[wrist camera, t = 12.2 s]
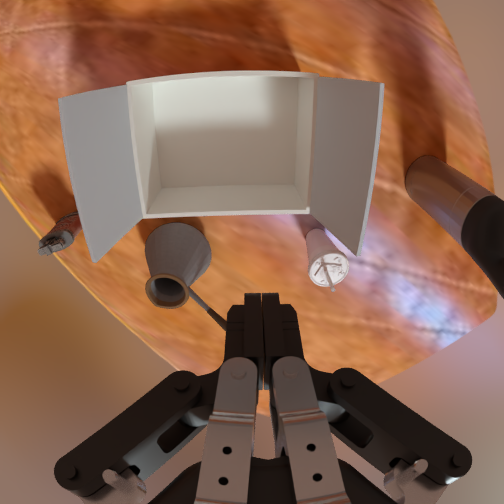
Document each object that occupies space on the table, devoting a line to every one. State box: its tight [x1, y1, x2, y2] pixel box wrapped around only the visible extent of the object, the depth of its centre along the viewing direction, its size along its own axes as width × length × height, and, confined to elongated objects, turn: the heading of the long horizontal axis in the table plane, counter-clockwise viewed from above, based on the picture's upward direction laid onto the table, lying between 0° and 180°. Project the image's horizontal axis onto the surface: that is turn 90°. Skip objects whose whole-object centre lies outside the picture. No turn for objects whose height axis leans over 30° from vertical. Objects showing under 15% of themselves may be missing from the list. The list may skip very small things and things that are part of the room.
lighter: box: [38, 211, 83, 255], centre depth 44 cm, size 8×3×10 cm, turn 104°
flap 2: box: [309, 77, 384, 256], centre depth 29 cm, size 10×17×1 cm
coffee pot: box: [145, 223, 227, 331], centre depth 48 cm, size 21×12×15 cm, turn 49°
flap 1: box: [58, 85, 143, 263], centre depth 29 cm, size 10×17×1 cm
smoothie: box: [306, 229, 349, 292], centre depth 47 cm, size 6×6×14 cm
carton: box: [126, 71, 319, 219], centre depth 38 cm, size 22×18×10 cm
